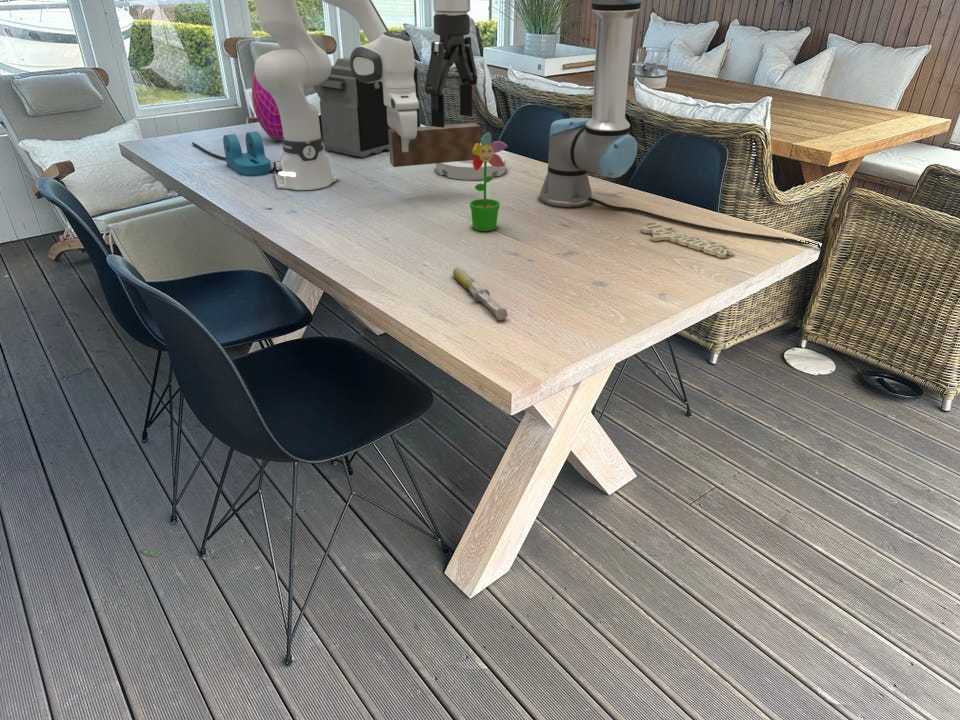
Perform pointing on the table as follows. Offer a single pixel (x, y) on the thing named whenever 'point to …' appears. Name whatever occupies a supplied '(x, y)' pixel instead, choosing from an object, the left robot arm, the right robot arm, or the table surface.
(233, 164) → the camera mount
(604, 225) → the table surface
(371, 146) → the electronic device
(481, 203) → the potted flower
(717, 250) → the decorative sign
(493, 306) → the syringe
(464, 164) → the ashtray
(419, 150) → the bar
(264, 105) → the decorative egg
